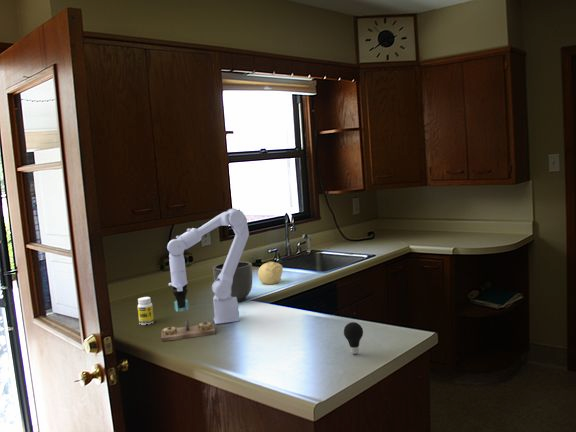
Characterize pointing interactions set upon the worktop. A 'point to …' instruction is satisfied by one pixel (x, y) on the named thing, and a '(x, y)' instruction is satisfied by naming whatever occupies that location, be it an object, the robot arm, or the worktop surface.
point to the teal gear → (181, 308)
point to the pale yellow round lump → (270, 273)
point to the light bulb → (353, 336)
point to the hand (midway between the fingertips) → (181, 305)
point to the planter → (238, 279)
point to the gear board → (187, 331)
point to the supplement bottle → (145, 311)
